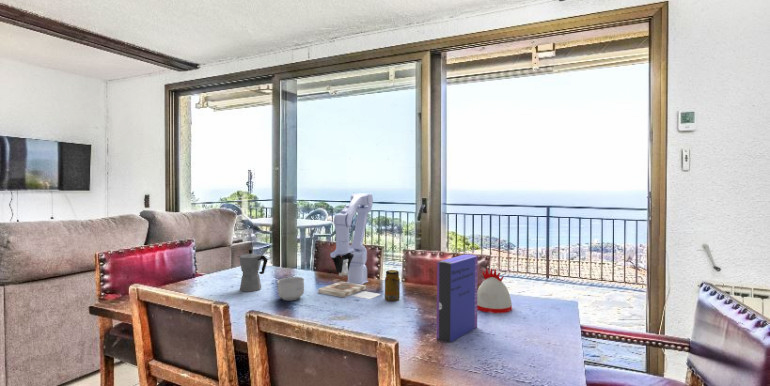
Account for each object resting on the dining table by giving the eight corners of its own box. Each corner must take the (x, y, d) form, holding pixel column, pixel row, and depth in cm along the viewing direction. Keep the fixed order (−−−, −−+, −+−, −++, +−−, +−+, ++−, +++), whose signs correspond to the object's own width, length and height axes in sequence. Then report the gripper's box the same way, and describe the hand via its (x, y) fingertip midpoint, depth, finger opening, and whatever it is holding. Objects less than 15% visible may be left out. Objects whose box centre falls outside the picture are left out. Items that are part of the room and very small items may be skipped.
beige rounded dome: (481, 300, 169) (481, 264, 168) (515, 305, 162) (515, 267, 161) (469, 309, 157) (469, 270, 156) (506, 315, 150) (506, 274, 149)
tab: (364, 292, 181) (364, 291, 181) (381, 295, 176) (381, 294, 176) (352, 296, 173) (352, 295, 173) (369, 300, 169) (369, 299, 169)
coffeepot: (231, 290, 183) (231, 250, 183) (245, 285, 192) (245, 247, 191) (260, 293, 178) (260, 252, 177) (273, 288, 187) (273, 248, 186)
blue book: (464, 324, 140) (464, 253, 140) (477, 327, 137) (477, 255, 136) (436, 339, 127) (437, 261, 126) (450, 343, 124) (450, 263, 123)
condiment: (393, 297, 173) (393, 268, 173) (406, 301, 167) (407, 272, 167) (379, 300, 169) (379, 271, 169) (393, 304, 162) (393, 274, 162)
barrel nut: (345, 274, 185) (344, 258, 185) (351, 275, 181) (350, 259, 181) (335, 275, 181) (335, 259, 182) (342, 276, 178) (341, 260, 178)
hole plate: (341, 285, 192) (341, 281, 192) (366, 289, 185) (366, 285, 185) (318, 293, 179) (318, 288, 179) (344, 298, 171) (344, 293, 171)
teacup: (300, 302, 165) (300, 282, 165) (273, 302, 165) (273, 282, 165) (308, 293, 179) (308, 275, 179) (283, 293, 179) (283, 274, 179)
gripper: (345, 238, 189) (345, 267, 190) (324, 241, 177) (324, 273, 178) (358, 239, 186) (358, 269, 186) (337, 243, 173) (337, 275, 174)
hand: (342, 271), depth 182 cm, fingers closed on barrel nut, 5 cm apart
